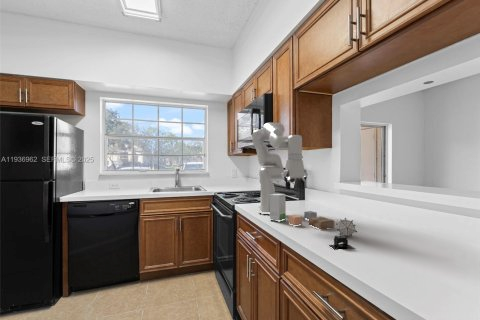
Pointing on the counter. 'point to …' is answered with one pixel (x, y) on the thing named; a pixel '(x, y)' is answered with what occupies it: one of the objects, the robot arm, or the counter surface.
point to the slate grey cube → (310, 214)
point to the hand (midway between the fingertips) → (295, 188)
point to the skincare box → (277, 206)
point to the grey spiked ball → (346, 227)
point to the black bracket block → (341, 246)
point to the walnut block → (321, 222)
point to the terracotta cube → (295, 219)
